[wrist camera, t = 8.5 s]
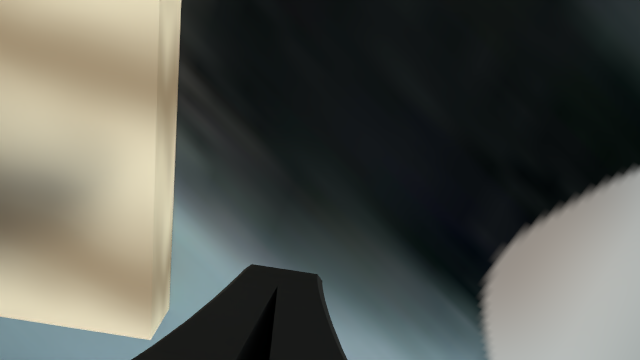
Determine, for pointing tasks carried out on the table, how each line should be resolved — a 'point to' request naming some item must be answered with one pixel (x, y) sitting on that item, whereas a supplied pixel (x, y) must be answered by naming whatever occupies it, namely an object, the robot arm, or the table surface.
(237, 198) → the table surface
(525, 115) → the table surface
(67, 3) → the wooden cutting board
